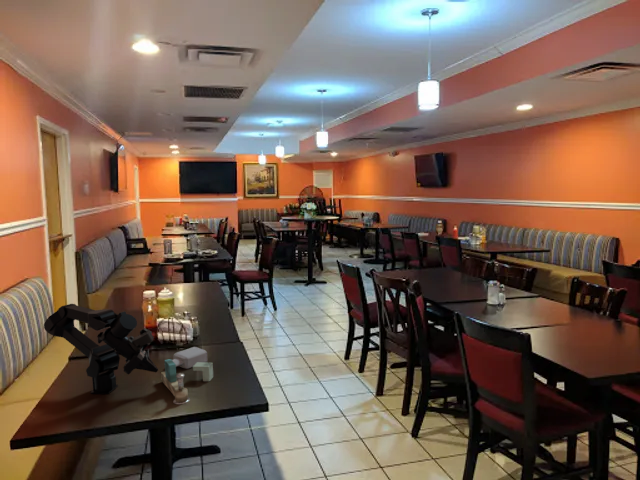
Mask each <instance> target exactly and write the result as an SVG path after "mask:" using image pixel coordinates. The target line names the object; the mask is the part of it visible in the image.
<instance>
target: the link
mask: <svg viewBox="0 0 640 480" xmlns="http://www.w3.org/2000/svg"><path fill="white" fill-rule="evenodd" d="M172 360H173V359H171V358H170V359H164V371H162V372H160V377H161V382H162V383H163V384H164V386H165V387H166V388H167V389H168V390H169V391H170V392H171V394H172V395H173V397H174V399H175V401H176V402H184V401H186V400H188V397H189V394H188V388H186V387H183V388H184V389H183V390H178V378H176V375H177V367H176V364H175V363H174V362H173V361H172Z"/></svg>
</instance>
